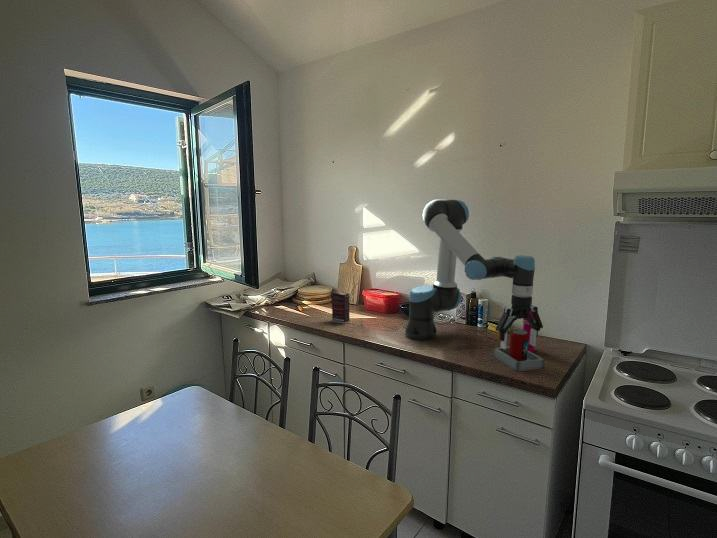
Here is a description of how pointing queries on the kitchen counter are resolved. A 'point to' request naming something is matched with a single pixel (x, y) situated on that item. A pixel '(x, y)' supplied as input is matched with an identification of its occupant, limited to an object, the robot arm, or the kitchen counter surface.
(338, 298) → the supplement box
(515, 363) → the tray
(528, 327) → the pepper mill
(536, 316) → the robot arm
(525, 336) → the beverage can
